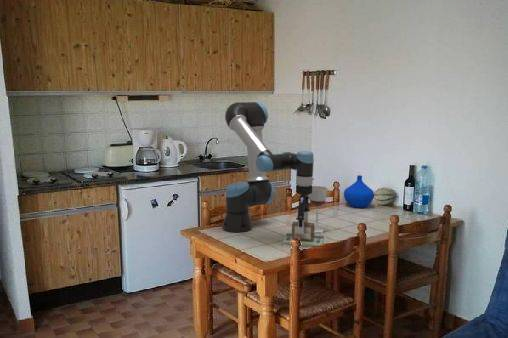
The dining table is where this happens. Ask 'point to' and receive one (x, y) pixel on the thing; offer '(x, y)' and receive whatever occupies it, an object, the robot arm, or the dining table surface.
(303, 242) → the ledge board
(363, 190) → the vase
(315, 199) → the wineglass
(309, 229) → the frame
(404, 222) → the dining table surface
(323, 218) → the dining table surface
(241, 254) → the dining table surface
